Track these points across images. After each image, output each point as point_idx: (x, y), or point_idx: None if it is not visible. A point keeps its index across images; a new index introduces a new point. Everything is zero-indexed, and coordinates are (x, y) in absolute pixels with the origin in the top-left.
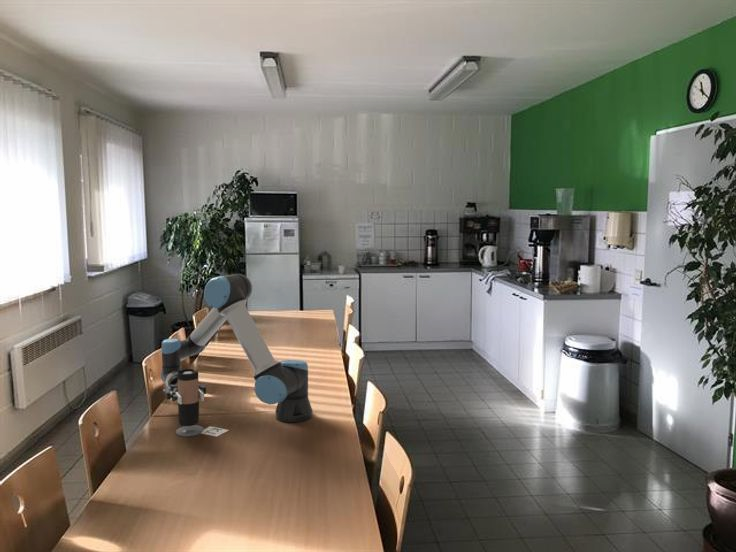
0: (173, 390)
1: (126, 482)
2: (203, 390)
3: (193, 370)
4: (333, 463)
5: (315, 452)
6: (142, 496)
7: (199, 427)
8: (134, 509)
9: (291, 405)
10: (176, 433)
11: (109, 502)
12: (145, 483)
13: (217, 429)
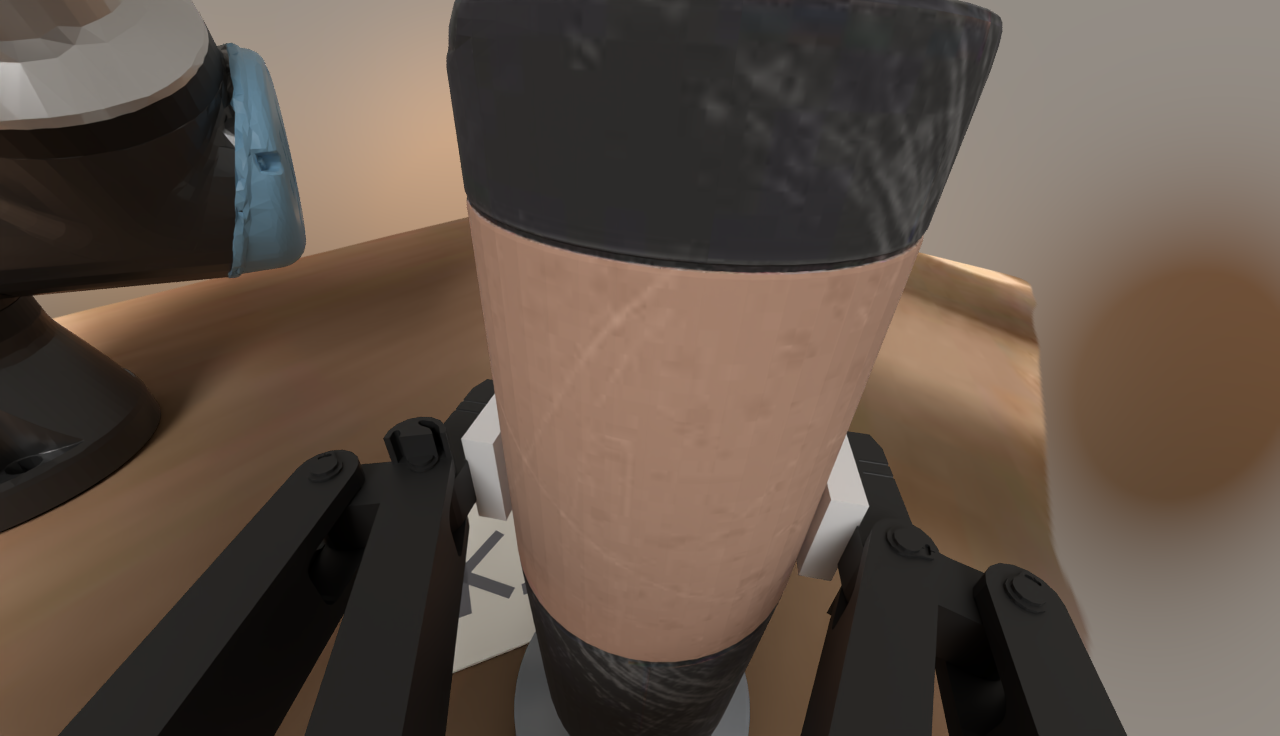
0: (920, 680)
1: (973, 370)
2: (385, 474)
3: (460, 44)
4: (471, 236)
5: (439, 264)
6: (906, 311)
7: (541, 682)
8: (916, 291)
9: (73, 337)
10: (748, 708)
11: (990, 325)
12: (908, 344)
13: (467, 569)
